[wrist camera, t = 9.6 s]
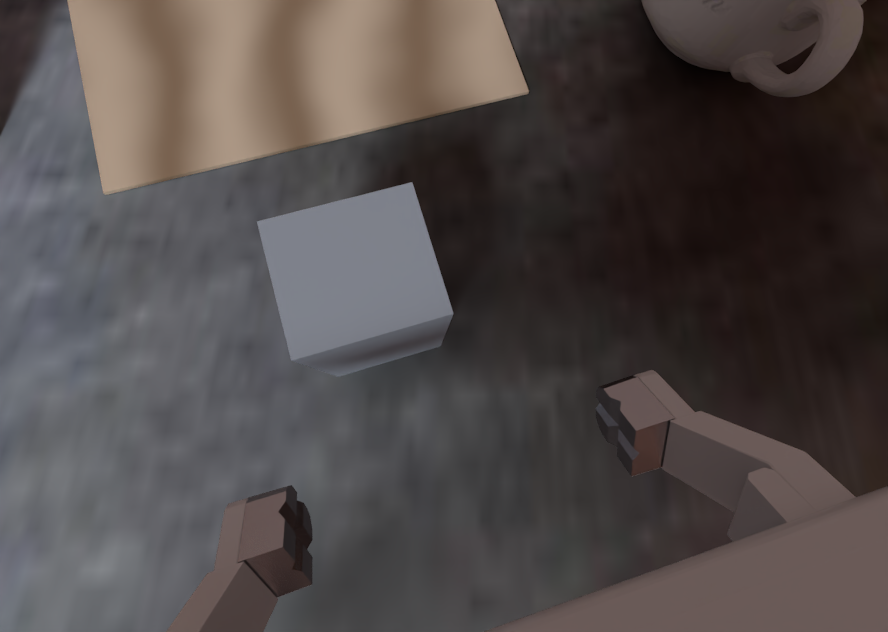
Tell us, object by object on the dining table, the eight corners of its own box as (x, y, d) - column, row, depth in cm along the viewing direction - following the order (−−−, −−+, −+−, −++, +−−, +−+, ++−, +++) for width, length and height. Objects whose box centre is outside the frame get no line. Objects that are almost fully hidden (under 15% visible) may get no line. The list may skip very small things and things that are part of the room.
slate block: (338, 376, 21) (291, 360, 13) (314, 286, 22) (256, 221, 14) (440, 346, 22) (453, 313, 14) (414, 259, 22) (411, 182, 15)
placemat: (106, 194, 22) (103, 193, 22) (53, -84, 25) (51, -87, 25) (528, 93, 25) (529, 91, 24) (437, -150, 27) (437, -154, 27)
